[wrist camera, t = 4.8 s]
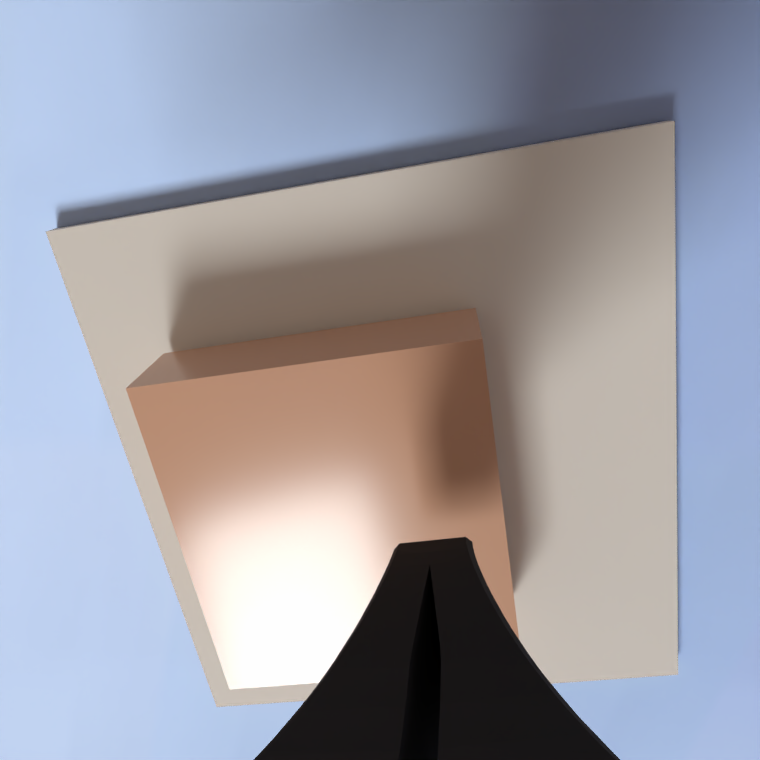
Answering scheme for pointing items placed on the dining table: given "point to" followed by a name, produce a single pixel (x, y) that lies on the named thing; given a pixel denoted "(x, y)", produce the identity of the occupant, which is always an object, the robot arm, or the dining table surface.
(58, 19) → the dining table surface
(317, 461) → the block
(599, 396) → the mat
